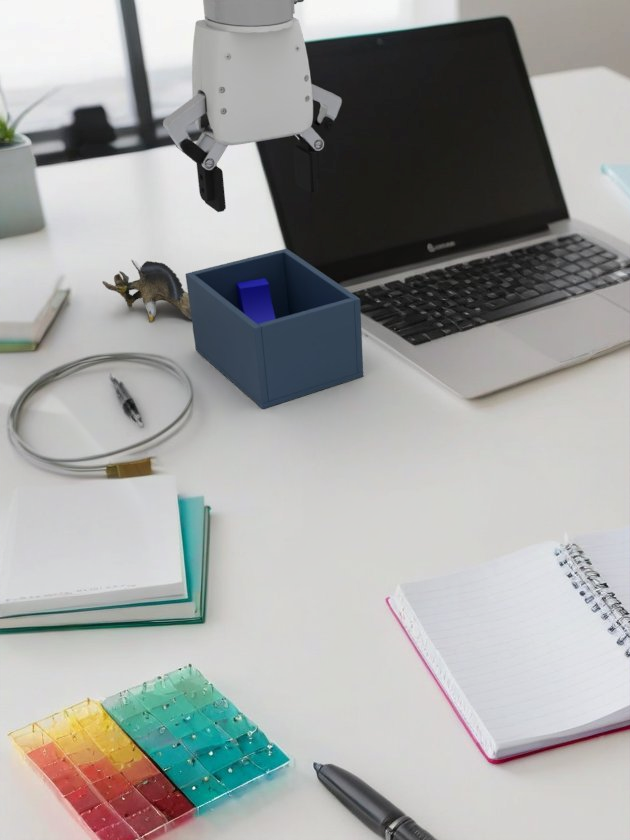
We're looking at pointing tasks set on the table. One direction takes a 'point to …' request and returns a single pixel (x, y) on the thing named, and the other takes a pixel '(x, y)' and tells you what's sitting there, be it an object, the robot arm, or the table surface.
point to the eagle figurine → (152, 287)
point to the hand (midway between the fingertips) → (262, 197)
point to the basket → (277, 328)
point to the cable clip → (255, 300)
